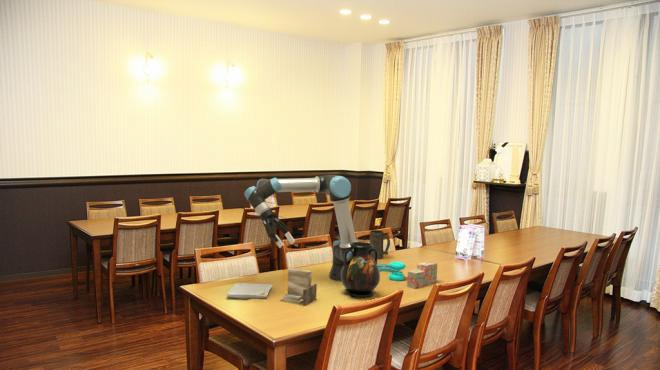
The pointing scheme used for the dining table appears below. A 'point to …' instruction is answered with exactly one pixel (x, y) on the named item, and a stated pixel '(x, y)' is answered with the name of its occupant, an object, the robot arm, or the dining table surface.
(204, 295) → the dining table surface
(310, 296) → the walnut rack
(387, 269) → the alien figure
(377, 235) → the beer stein
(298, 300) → the offcut stack
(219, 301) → the dining table surface
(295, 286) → the birch board
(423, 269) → the stack of blocks
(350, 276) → the amphora vase
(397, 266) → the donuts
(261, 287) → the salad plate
